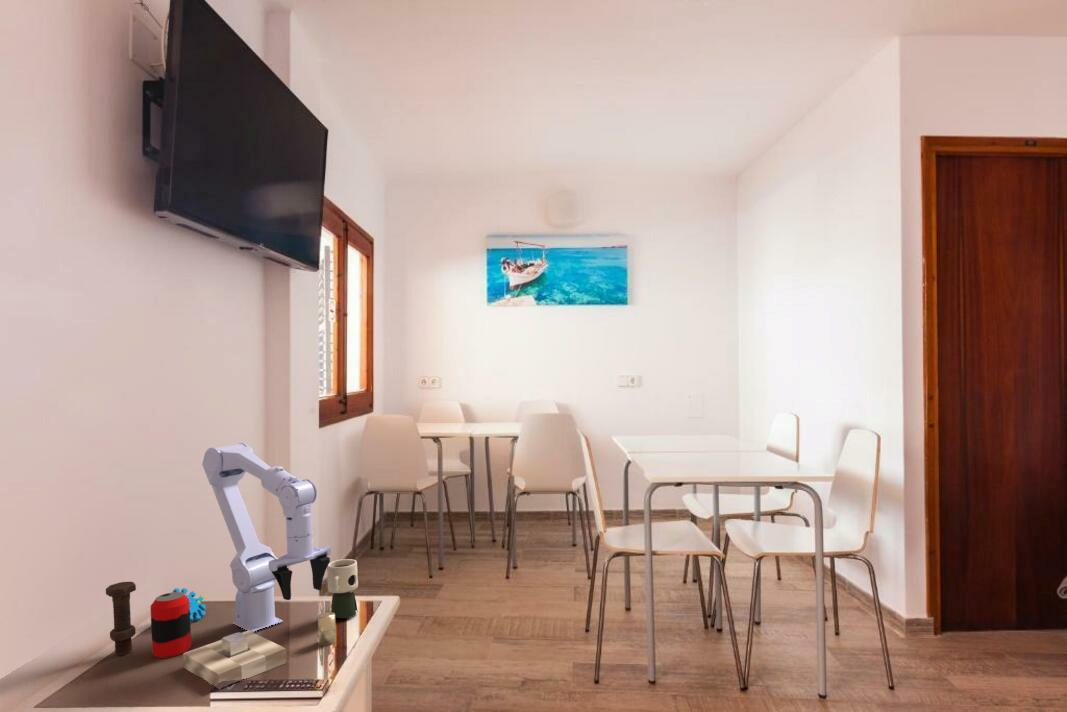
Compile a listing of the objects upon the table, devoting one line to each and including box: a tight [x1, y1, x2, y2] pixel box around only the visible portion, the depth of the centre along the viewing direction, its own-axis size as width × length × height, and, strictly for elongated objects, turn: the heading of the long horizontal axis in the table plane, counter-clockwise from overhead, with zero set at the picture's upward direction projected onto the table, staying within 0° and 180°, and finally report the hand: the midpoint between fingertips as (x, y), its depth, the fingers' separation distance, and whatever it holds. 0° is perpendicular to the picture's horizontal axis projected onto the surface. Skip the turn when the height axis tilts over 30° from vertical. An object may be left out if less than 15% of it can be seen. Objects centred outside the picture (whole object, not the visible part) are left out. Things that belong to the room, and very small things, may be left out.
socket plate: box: [182, 630, 287, 686], centre depth 141 cm, size 16×14×3 cm
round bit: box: [317, 611, 337, 647], centre depth 151 cm, size 4×4×6 cm
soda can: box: [150, 591, 192, 659], centre depth 150 cm, size 8×8×12 cm
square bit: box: [221, 631, 248, 658], centre depth 141 cm, size 4×4×6 cm
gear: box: [170, 587, 207, 623], centre depth 169 cm, size 11×6×10 cm
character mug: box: [326, 558, 359, 620], centre depth 166 cm, size 11×7×13 cm, turn 177°
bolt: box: [105, 581, 137, 656], centre depth 150 cm, size 6×5×15 cm
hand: (302, 593), depth 156 cm, fingers open, 7 cm apart
